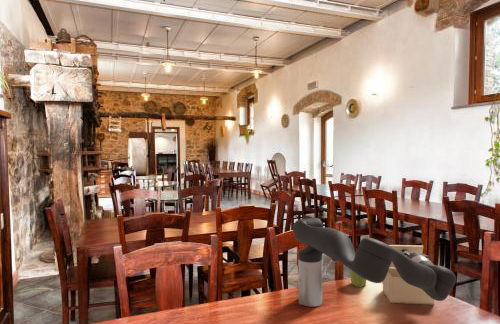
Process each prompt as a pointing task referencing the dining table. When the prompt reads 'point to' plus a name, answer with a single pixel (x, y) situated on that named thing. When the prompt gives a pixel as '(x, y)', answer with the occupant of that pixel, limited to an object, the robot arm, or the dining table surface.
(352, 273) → the plant pot
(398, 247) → the back flap
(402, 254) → the robot arm
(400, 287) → the carton
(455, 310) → the dining table surface
